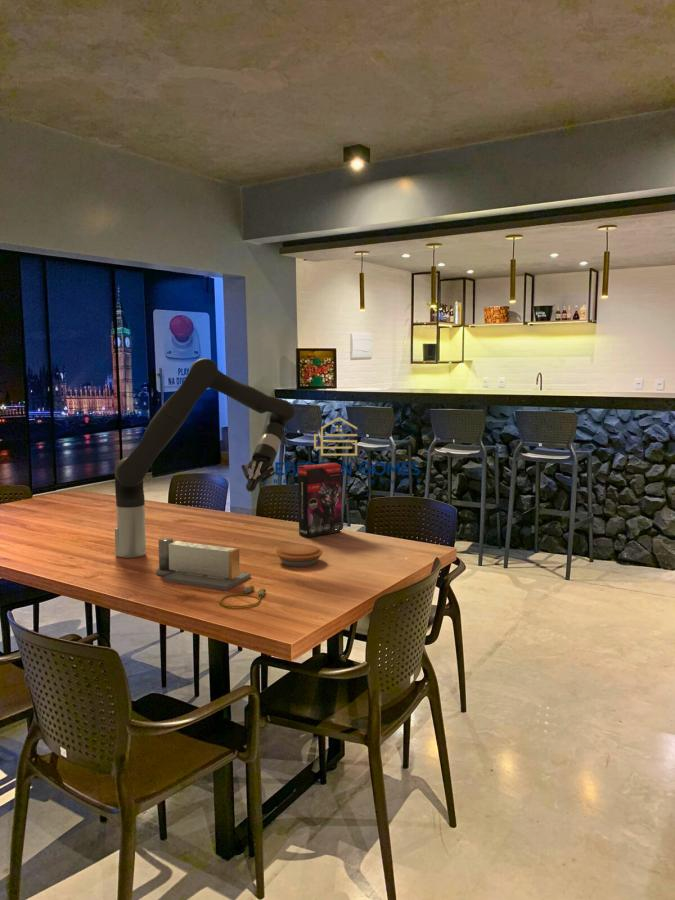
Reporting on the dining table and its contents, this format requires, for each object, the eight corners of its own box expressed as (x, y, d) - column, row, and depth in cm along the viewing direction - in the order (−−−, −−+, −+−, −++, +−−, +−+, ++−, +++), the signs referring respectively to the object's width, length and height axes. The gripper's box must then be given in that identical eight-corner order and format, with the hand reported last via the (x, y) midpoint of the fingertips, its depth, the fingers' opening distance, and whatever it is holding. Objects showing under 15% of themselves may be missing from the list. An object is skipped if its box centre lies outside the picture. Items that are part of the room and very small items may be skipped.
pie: (305, 553, 238) (305, 539, 237) (331, 563, 225) (331, 549, 225) (267, 560, 229) (267, 546, 228) (292, 571, 216) (292, 556, 216)
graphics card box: (307, 538, 259) (307, 467, 255) (296, 535, 264) (297, 465, 261) (342, 532, 269) (343, 464, 266) (331, 529, 274) (332, 462, 271)
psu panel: (144, 577, 208) (144, 573, 207) (172, 566, 220) (172, 561, 220) (226, 590, 197) (226, 585, 196) (250, 577, 209) (250, 572, 209)
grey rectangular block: (156, 569, 212) (155, 540, 210) (164, 565, 216) (164, 537, 215) (231, 580, 201) (231, 550, 200) (239, 576, 205) (239, 547, 204)
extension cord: (280, 600, 190) (280, 593, 190) (234, 614, 179) (234, 606, 179) (254, 590, 199) (254, 583, 199) (208, 602, 188) (208, 595, 188)
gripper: (246, 441, 236) (227, 482, 226) (280, 443, 230) (263, 485, 221) (254, 455, 241) (236, 495, 231) (287, 457, 236) (270, 498, 226)
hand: (249, 490), depth 226 cm, fingers closed
